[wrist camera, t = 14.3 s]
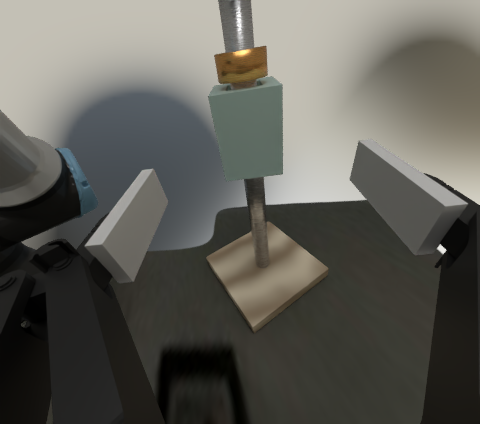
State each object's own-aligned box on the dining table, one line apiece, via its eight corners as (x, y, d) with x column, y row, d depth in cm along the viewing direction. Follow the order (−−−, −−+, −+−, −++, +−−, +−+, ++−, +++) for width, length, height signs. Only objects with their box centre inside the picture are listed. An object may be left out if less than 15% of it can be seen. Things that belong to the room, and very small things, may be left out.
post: (242, 260, 36) (149, -195, 11) (265, 246, 38) (227, -174, 13) (259, 280, 33) (179, -320, 8) (283, 264, 34) (282, -267, 9)
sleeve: (225, 181, 22) (208, 96, 16) (227, 157, 26) (214, 85, 21) (282, 174, 21) (282, 84, 16) (274, 151, 26) (272, 76, 21)
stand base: (208, 263, 39) (205, 257, 38) (269, 228, 44) (269, 221, 43) (254, 333, 29) (252, 327, 27) (326, 275, 34) (328, 268, 33)
